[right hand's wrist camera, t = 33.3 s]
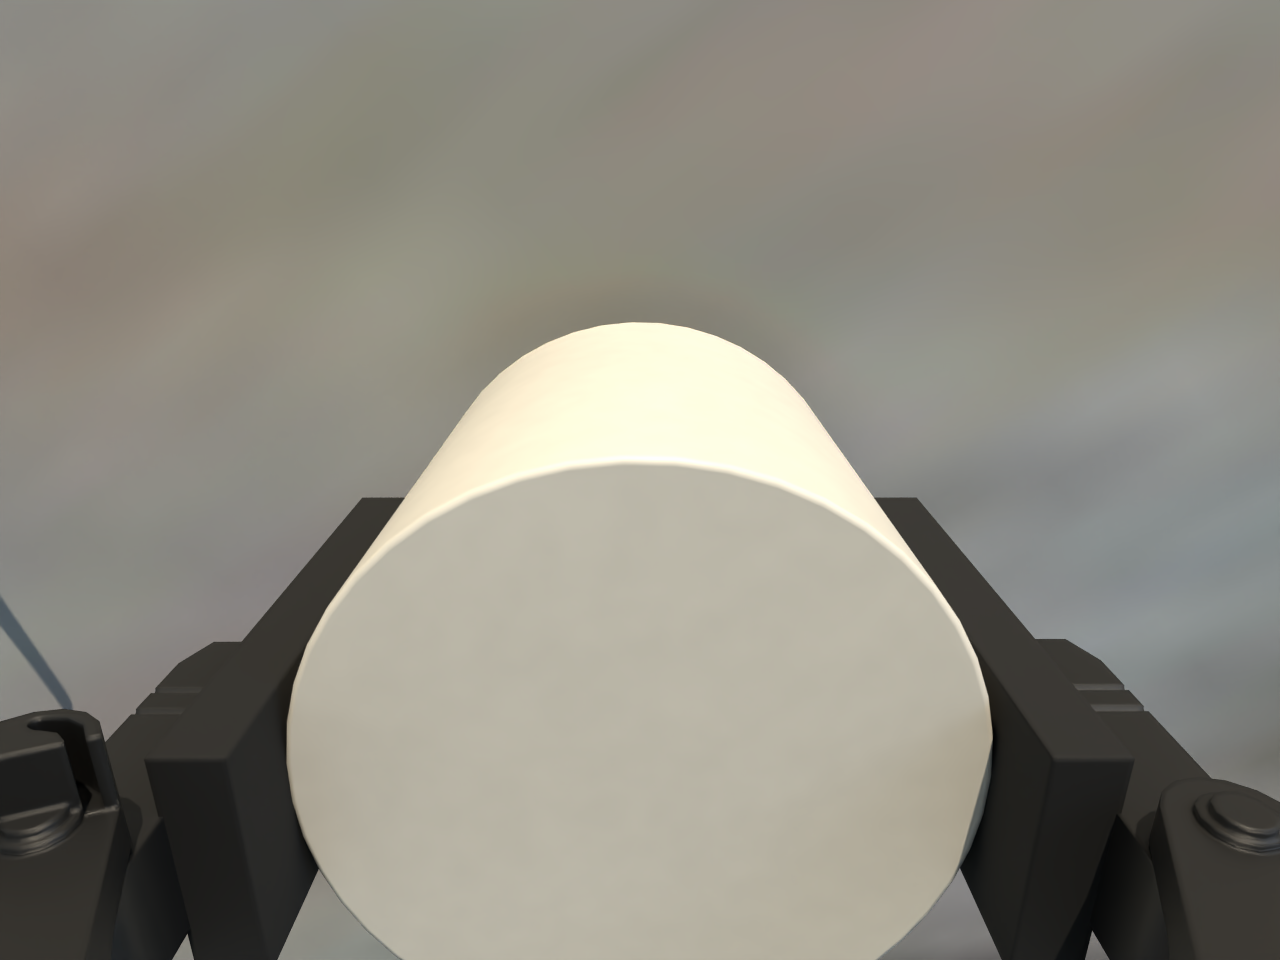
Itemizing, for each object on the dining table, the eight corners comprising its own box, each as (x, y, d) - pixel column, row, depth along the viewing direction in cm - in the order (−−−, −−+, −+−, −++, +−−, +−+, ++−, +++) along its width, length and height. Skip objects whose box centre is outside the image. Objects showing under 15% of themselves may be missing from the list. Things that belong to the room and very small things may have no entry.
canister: (650, 757, 18) (656, 1125, 11) (356, 534, 16) (144, 808, 9) (925, 512, 16) (1142, 773, 9) (626, 227, 14) (612, 282, 7)
